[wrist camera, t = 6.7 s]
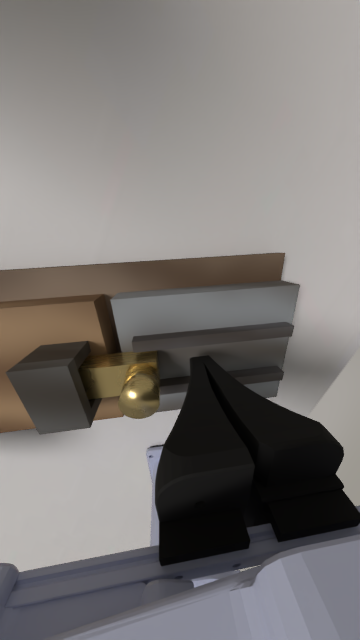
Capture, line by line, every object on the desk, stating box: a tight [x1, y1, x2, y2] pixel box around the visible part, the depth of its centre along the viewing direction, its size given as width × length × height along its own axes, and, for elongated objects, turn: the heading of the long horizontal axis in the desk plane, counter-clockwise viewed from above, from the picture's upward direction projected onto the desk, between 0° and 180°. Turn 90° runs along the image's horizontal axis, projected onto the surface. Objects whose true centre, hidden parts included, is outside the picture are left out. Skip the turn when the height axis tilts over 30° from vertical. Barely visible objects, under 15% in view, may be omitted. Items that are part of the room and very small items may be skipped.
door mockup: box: [0, 253, 300, 434], centre depth 12 cm, size 14×26×6 cm, turn 93°
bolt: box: [78, 350, 160, 419], centre depth 11 cm, size 2×8×4 cm, turn 93°
